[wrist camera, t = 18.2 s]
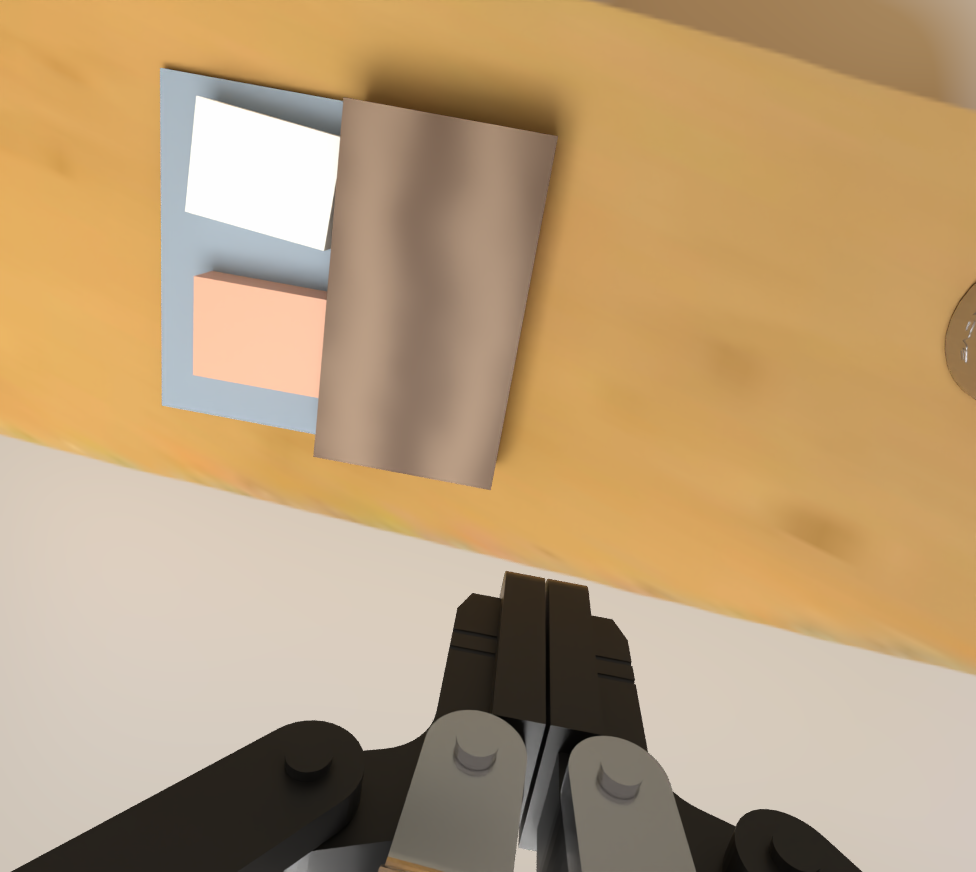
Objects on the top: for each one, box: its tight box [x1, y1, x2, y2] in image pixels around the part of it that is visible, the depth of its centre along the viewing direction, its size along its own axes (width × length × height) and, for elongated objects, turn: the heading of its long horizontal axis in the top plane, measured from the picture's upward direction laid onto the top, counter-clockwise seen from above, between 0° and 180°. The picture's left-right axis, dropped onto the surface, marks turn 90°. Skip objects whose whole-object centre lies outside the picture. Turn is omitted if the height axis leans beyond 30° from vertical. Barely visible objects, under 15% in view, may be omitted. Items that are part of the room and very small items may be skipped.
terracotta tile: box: [193, 271, 327, 398], centre depth 41 cm, size 8×6×2 cm
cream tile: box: [185, 96, 340, 251], centre depth 38 cm, size 8×6×2 cm
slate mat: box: [160, 68, 343, 434], centre depth 41 cm, size 11×20×1 cm, turn 170°
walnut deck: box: [314, 97, 558, 490], centre depth 40 cm, size 11×20×4 cm, turn 170°
